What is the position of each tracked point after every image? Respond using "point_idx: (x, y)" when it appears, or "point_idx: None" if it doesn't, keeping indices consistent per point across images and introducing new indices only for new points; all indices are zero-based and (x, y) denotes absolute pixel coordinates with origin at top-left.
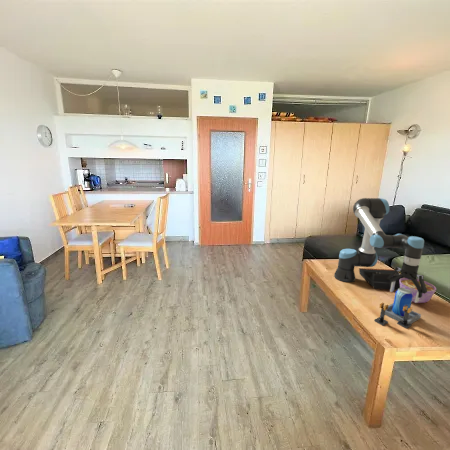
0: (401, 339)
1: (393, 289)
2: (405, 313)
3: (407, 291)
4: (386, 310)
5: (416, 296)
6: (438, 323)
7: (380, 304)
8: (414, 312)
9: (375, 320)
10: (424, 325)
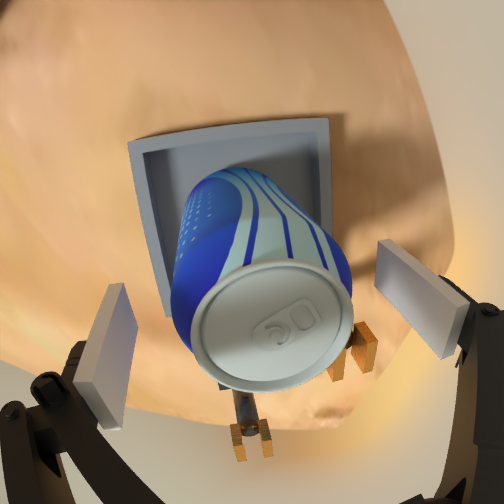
0: (350, 374)
1: (120, 302)
2: None
3: (301, 311)
4: (167, 261)
5: (414, 323)
6: (391, 79)
7: (241, 460)
8: (290, 132)
9: (225, 388)
10: (366, 178)
